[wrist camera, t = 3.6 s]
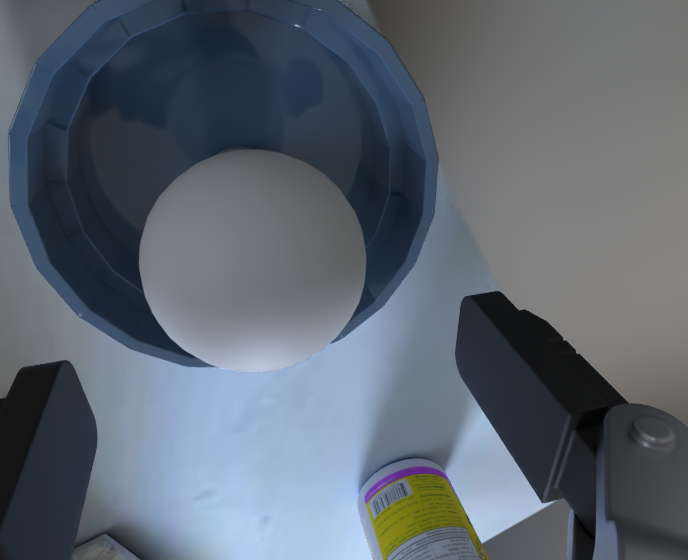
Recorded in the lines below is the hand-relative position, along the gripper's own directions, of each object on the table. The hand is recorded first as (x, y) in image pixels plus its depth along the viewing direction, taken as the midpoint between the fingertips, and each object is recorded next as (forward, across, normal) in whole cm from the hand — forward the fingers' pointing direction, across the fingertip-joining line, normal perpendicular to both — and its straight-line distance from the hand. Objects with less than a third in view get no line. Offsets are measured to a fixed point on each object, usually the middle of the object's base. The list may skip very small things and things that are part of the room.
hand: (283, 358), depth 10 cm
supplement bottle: (+13, -8, +24) cm, 28 cm away
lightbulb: (+12, 0, 0) cm, 12 cm away
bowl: (+12, 0, 0) cm, 13 cm away
